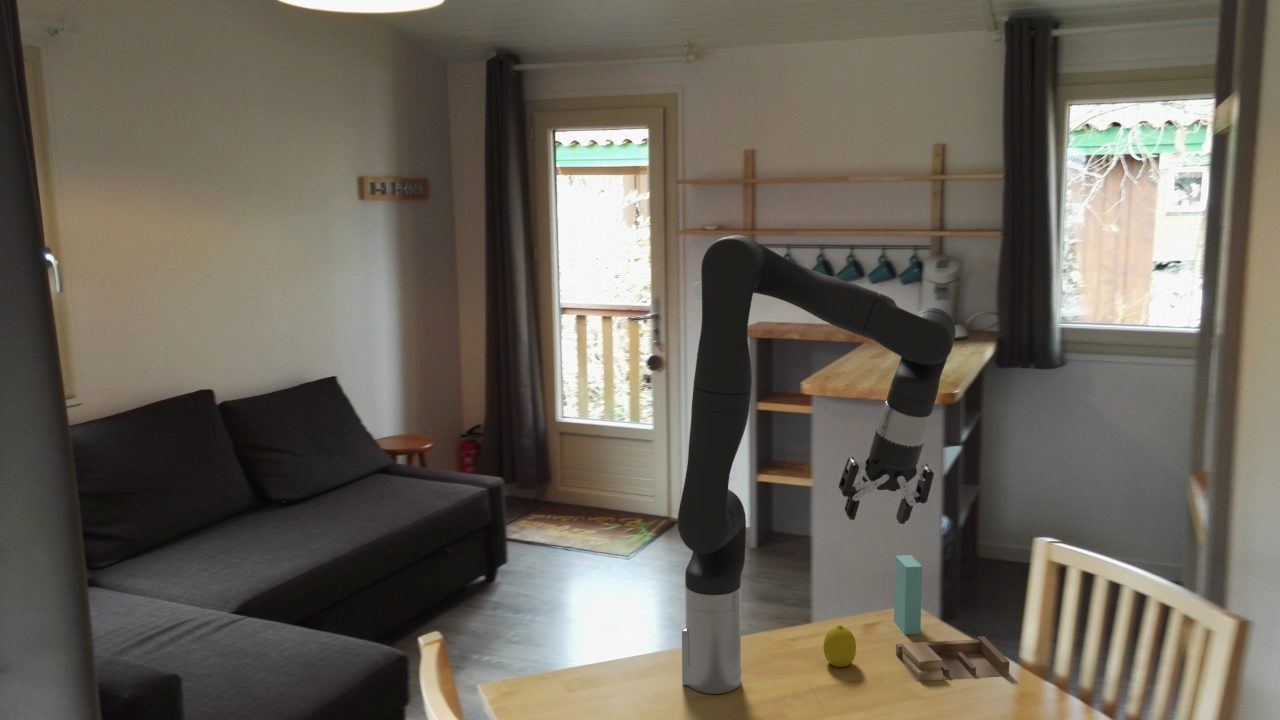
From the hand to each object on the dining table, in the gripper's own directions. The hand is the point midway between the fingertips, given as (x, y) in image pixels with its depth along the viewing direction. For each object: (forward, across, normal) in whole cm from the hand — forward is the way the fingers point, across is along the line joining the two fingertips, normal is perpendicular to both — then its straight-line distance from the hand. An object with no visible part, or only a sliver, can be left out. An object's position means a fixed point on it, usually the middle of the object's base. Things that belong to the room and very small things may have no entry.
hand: (875, 519), depth 163 cm
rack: (+26, -19, +4) cm, 33 cm away
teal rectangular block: (+31, -18, -11) cm, 37 cm away
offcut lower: (+26, -14, +5) cm, 30 cm away
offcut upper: (+24, -14, +4) cm, 28 cm away
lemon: (+30, -1, +2) cm, 30 cm away
